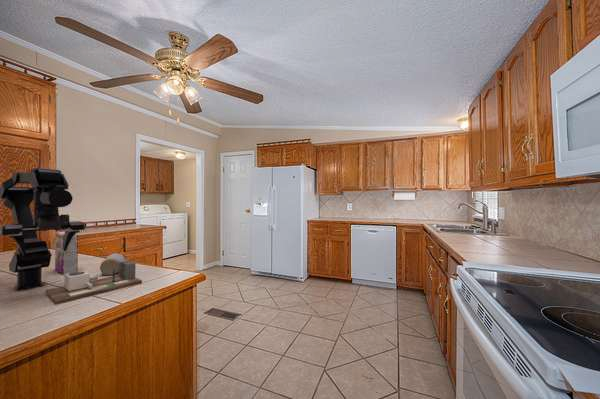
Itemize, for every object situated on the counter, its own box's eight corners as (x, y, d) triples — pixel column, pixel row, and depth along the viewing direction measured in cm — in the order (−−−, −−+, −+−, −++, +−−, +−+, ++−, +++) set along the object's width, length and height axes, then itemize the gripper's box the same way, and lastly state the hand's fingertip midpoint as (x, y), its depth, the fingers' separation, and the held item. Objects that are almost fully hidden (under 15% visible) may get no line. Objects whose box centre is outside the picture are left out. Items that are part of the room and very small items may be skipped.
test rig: (45, 293, 79) (45, 272, 79) (126, 275, 98) (126, 258, 98) (55, 304, 71) (55, 280, 71) (141, 283, 90) (142, 264, 90)
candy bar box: (53, 270, 104) (54, 232, 104) (69, 267, 108) (69, 231, 108) (61, 275, 98) (62, 234, 98) (78, 272, 102) (78, 233, 102)
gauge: (64, 287, 81) (64, 273, 81) (94, 280, 88) (94, 268, 88) (72, 294, 76) (72, 279, 76) (103, 286, 82) (104, 273, 82)
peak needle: (112, 282, 85) (112, 269, 85) (114, 281, 85) (114, 268, 85) (113, 282, 84) (113, 269, 84) (115, 282, 85) (115, 269, 85)
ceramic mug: (98, 277, 96) (99, 257, 96) (104, 271, 104) (105, 253, 104) (130, 274, 101) (131, 256, 101) (134, 269, 108) (134, 252, 108)
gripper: (4, 207, 67) (3, 263, 67) (90, 206, 83) (89, 252, 83) (0, 206, 74) (-1, 257, 74) (80, 206, 89) (79, 248, 89)
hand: (45, 253), depth 80 cm, fingers open, 9 cm apart
